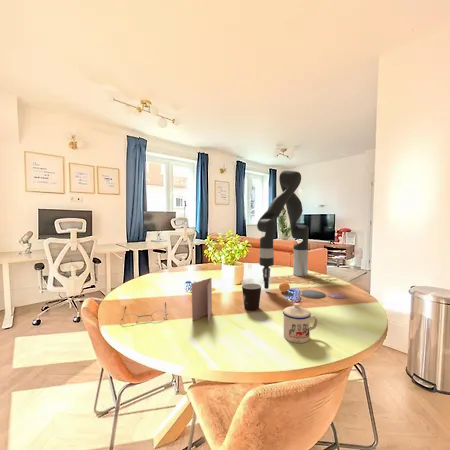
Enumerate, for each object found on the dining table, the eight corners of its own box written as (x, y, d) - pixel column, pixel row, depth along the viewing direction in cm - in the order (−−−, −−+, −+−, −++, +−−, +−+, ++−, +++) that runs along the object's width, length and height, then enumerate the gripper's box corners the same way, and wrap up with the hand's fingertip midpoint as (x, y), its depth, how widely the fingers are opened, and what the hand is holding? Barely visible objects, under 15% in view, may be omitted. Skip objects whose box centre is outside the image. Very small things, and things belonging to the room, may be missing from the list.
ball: (279, 290, 140) (279, 280, 140) (289, 291, 139) (289, 280, 139) (278, 293, 135) (278, 283, 135) (289, 294, 134) (289, 283, 133)
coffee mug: (260, 312, 111) (260, 289, 110) (240, 311, 112) (240, 288, 112) (262, 302, 122) (262, 282, 121) (244, 301, 124) (244, 281, 123)
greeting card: (210, 311, 112) (209, 277, 111) (223, 315, 107) (223, 280, 107) (190, 320, 103) (190, 283, 102) (204, 325, 99) (203, 286, 98)
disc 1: (298, 289, 142) (298, 289, 142) (323, 291, 139) (323, 290, 139) (299, 297, 129) (299, 297, 129) (327, 299, 126) (327, 298, 126)
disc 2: (326, 292, 136) (326, 292, 136) (344, 293, 134) (344, 293, 134) (329, 298, 128) (329, 297, 128) (348, 299, 125) (348, 299, 125)
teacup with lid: (287, 344, 84) (288, 309, 83) (279, 331, 93) (279, 299, 92) (323, 342, 85) (323, 308, 84) (311, 330, 94) (312, 298, 93)
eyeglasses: (120, 325, 101) (120, 315, 100) (125, 309, 119) (125, 300, 119) (168, 319, 105) (167, 310, 105) (165, 304, 124) (165, 296, 123)
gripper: (273, 258, 131) (272, 292, 132) (274, 254, 144) (274, 285, 145) (258, 258, 133) (258, 291, 134) (260, 254, 145) (260, 284, 146)
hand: (266, 288), depth 139 cm, fingers closed
